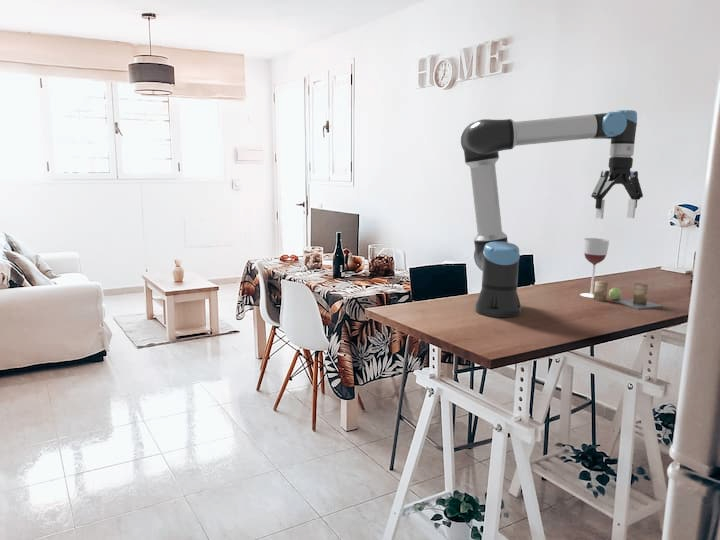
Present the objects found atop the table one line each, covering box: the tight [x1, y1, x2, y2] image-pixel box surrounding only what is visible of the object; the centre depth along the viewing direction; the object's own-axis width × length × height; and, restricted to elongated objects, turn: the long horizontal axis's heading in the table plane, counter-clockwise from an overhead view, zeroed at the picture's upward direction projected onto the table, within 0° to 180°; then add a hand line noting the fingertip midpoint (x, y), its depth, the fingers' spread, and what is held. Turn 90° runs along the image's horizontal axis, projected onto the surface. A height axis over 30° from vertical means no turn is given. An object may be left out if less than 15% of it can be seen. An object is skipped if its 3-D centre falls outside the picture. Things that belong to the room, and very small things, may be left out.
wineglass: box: [579, 237, 610, 299], centre depth 218 cm, size 9×10×22 cm
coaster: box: [614, 298, 663, 310], centre depth 206 cm, size 11×11×1 cm
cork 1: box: [593, 280, 609, 302], centre depth 212 cm, size 4×4×7 cm
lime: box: [608, 287, 623, 301], centre depth 213 cm, size 5×5×5 cm
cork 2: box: [632, 282, 649, 304], centre depth 206 cm, size 4×4×7 cm
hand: (615, 218), depth 198 cm, fingers open, 13 cm apart
